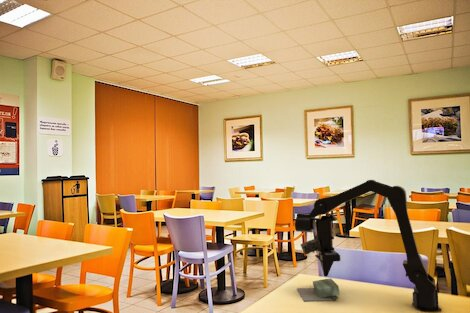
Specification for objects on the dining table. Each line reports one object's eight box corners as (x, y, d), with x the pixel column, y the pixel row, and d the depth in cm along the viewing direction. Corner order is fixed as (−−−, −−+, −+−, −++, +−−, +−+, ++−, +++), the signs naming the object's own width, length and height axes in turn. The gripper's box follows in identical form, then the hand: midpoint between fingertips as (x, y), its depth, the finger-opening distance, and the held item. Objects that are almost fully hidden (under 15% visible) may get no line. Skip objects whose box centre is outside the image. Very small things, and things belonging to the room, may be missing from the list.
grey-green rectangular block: (330, 278, 139) (312, 281, 138) (338, 285, 129) (318, 289, 128) (332, 286, 138) (314, 289, 138) (339, 294, 128) (320, 298, 128)
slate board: (326, 288, 140) (325, 285, 140) (336, 300, 126) (336, 297, 126) (296, 289, 140) (296, 286, 140) (303, 301, 126) (303, 298, 126)
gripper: (297, 229, 144) (298, 270, 143) (307, 237, 125) (308, 284, 124) (326, 229, 144) (327, 269, 143) (340, 236, 125) (341, 283, 124)
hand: (325, 276), depth 134 cm, fingers closed
